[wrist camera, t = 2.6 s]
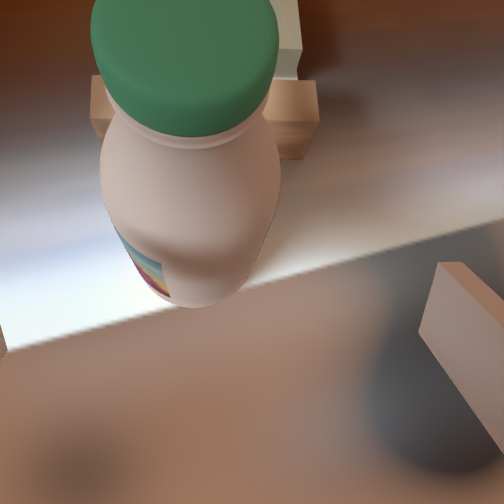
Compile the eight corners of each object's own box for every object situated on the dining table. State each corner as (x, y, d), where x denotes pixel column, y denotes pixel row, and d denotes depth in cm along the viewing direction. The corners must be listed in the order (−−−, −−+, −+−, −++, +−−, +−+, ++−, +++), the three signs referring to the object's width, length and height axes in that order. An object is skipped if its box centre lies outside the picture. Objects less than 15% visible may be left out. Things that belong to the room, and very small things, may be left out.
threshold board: (107, 158, 30) (89, 118, 26) (108, 121, 31) (91, 75, 26) (302, 159, 32) (319, 120, 27) (298, 123, 33) (315, 80, 28)
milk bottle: (254, 203, 31) (342, -81, 12) (250, 312, 29) (351, 180, 9) (143, 195, 30) (43, -124, 11) (131, 306, 28) (-21, 149, 9)
